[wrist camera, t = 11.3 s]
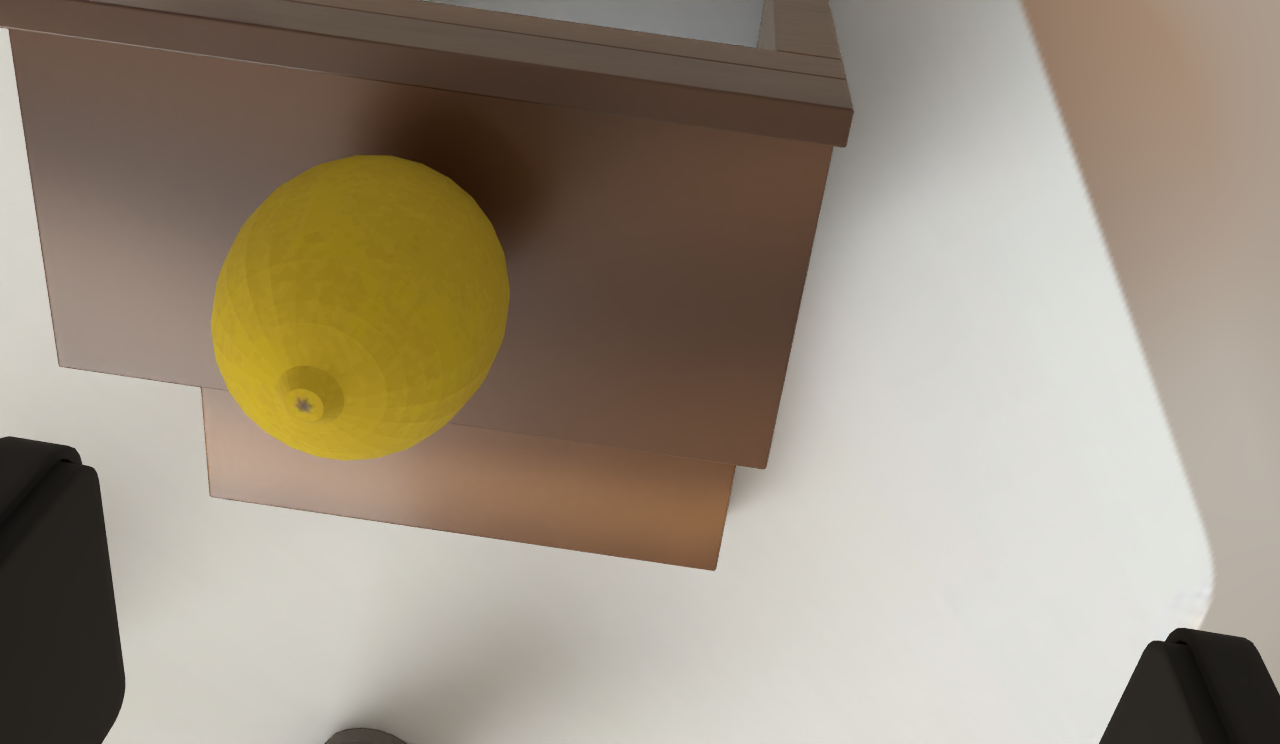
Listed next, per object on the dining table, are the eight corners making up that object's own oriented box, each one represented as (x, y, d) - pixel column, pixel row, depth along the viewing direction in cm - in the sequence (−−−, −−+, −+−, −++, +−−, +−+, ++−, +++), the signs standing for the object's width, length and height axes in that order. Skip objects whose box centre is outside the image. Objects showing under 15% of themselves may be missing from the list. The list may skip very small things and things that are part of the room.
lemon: (585, 251, 27) (528, 445, 21) (408, 368, 29) (301, 581, 22) (425, 54, 25) (302, 195, 19) (247, 194, 27) (76, 369, 21)
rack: (204, -119, 35) (-60, -20, 23) (823, -32, 34) (855, 109, 23) (240, 450, 45) (68, 708, 34) (718, 520, 45) (705, 803, 33)
